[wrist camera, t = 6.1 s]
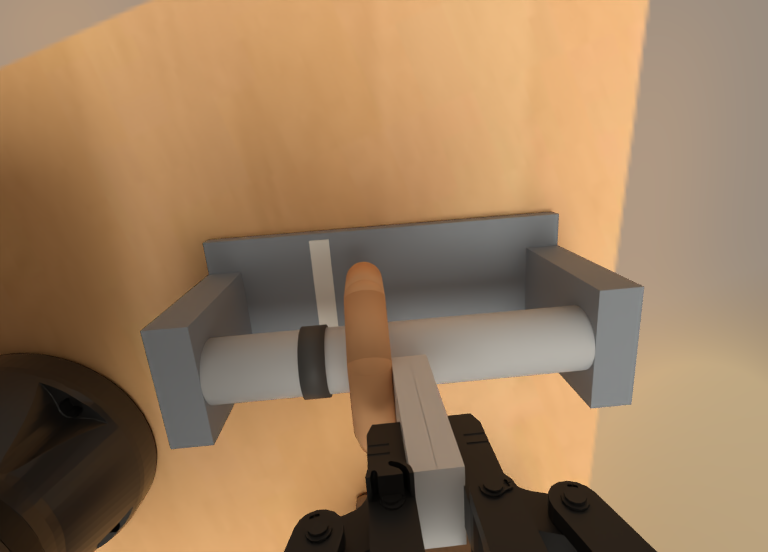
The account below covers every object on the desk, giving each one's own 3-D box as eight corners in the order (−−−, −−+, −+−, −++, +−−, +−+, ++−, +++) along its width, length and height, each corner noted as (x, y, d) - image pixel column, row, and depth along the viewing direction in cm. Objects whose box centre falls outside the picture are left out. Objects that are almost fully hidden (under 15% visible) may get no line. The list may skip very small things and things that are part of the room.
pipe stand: (235, 380, 30) (178, 486, 20) (208, 239, 27) (126, 287, 17) (545, 351, 30) (629, 441, 21) (551, 211, 27) (651, 243, 18)
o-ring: (359, 388, 26) (359, 501, 18) (346, 250, 24) (338, 305, 15) (388, 386, 26) (402, 497, 18) (378, 247, 24) (388, 301, 15)
